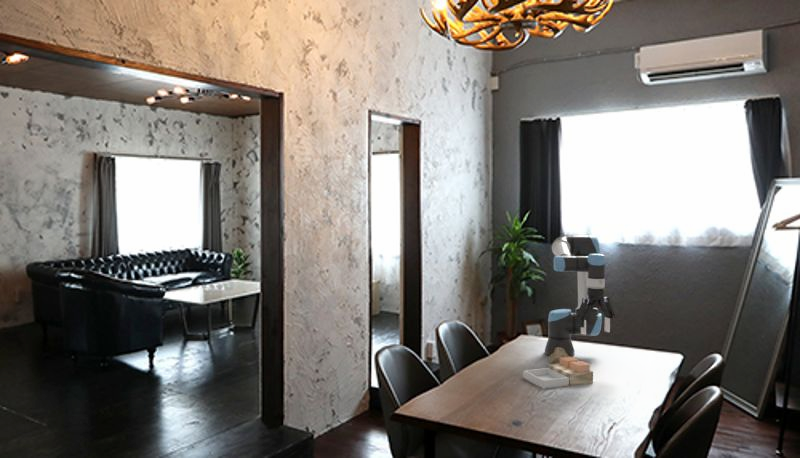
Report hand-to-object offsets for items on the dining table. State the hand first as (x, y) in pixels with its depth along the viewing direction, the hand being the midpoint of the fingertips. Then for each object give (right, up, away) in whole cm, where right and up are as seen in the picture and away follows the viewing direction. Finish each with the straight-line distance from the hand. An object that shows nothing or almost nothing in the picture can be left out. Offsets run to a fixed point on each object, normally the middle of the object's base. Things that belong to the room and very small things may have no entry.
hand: (595, 333), depth 266 cm
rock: (-16, -19, +10) cm, 27 cm away
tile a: (-13, -14, -2) cm, 19 cm away
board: (-13, -20, -6) cm, 25 cm away
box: (-26, -20, -11) cm, 34 cm away
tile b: (-10, -15, -10) cm, 20 cm away
